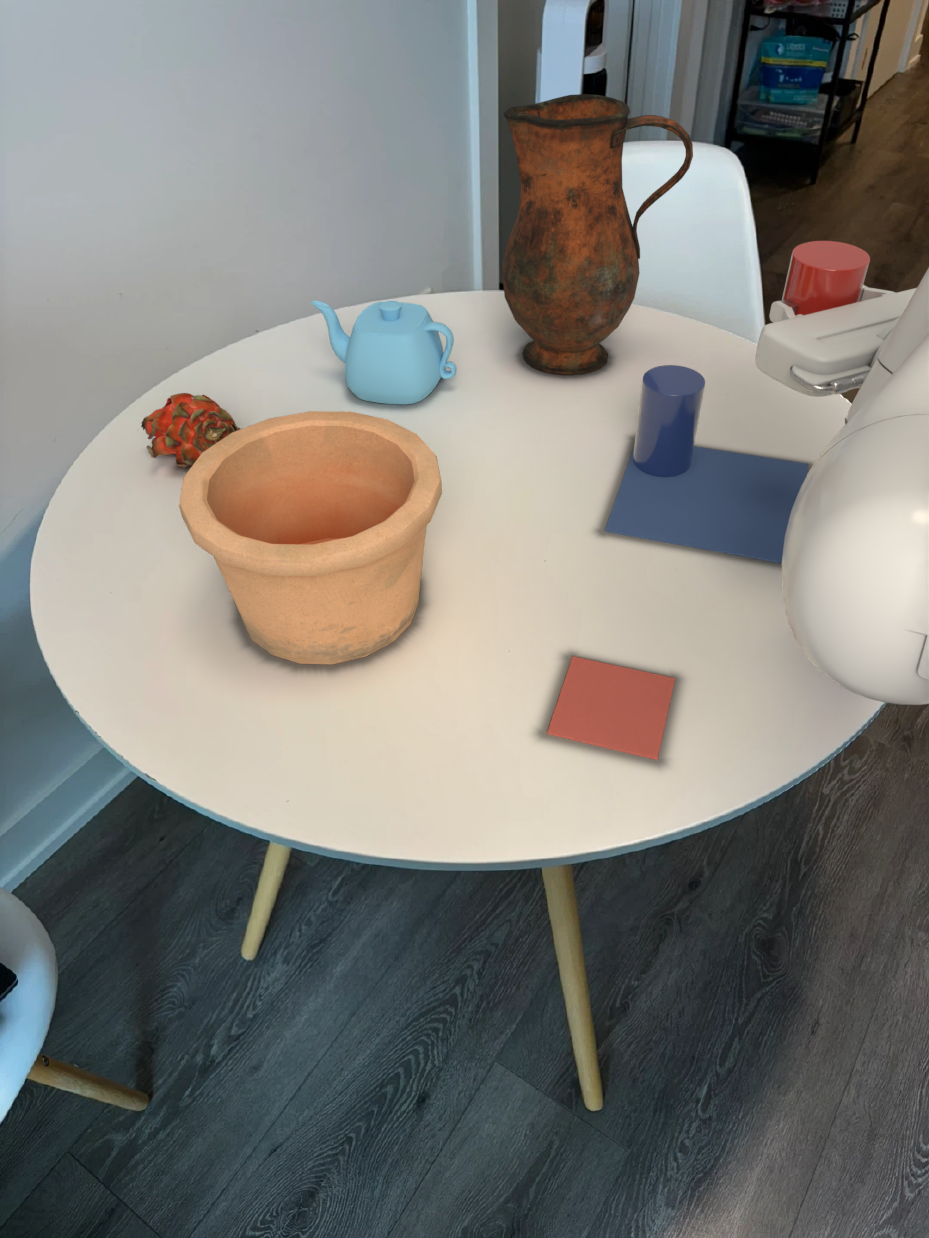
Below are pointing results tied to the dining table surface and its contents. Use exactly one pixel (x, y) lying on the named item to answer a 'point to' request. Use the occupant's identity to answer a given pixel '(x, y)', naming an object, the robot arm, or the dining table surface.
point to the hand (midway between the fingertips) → (812, 299)
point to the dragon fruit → (187, 427)
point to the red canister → (825, 275)
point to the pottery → (317, 529)
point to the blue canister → (668, 420)
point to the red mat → (613, 707)
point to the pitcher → (574, 228)
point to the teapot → (391, 351)
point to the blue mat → (712, 504)
